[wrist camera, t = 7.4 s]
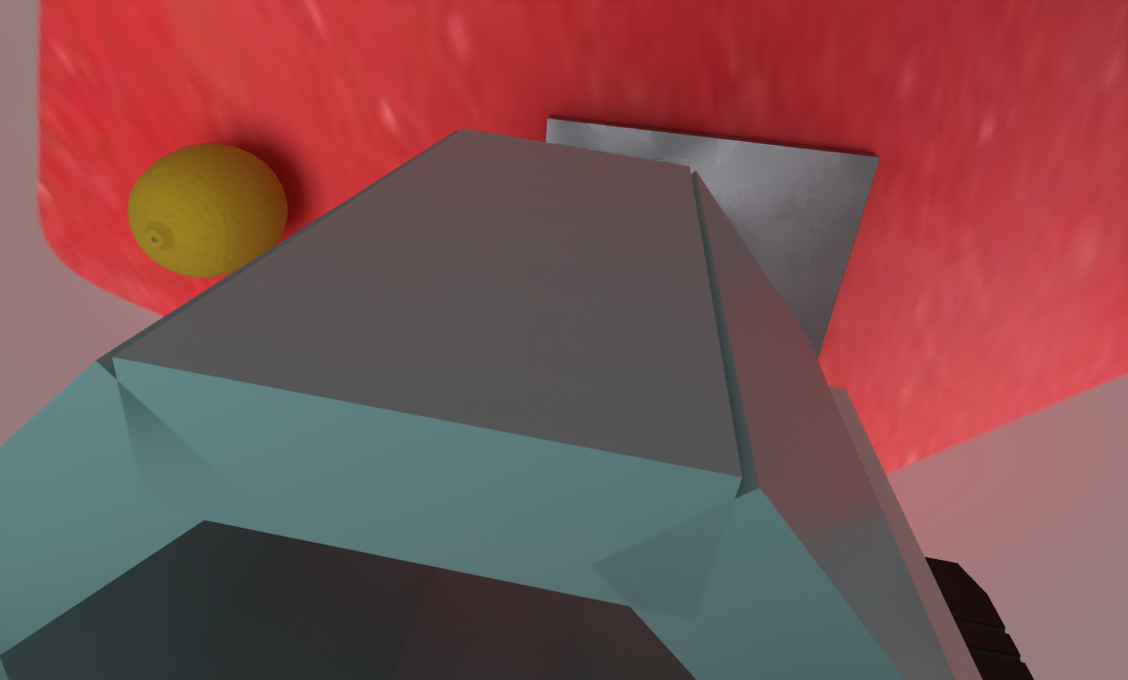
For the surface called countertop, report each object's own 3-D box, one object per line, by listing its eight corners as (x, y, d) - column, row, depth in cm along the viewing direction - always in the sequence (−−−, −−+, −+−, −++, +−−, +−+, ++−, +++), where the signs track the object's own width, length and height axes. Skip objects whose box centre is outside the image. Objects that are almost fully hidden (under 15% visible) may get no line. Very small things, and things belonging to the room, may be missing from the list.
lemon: (211, 228, 34) (95, 287, 27) (204, 117, 31) (73, 152, 24) (315, 251, 34) (225, 318, 27) (317, 143, 31) (218, 185, 24)
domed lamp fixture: (873, 152, 28) (984, 232, 19) (791, 421, 35) (842, 584, 25) (550, 115, 29) (497, 172, 20) (529, 383, 36) (481, 526, 26)
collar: (865, 195, 11) (1261, 577, 4) (720, 601, 15) (772, 1126, 8) (298, 100, 11) (-319, 274, 4) (319, 520, 16) (39, 949, 9)
